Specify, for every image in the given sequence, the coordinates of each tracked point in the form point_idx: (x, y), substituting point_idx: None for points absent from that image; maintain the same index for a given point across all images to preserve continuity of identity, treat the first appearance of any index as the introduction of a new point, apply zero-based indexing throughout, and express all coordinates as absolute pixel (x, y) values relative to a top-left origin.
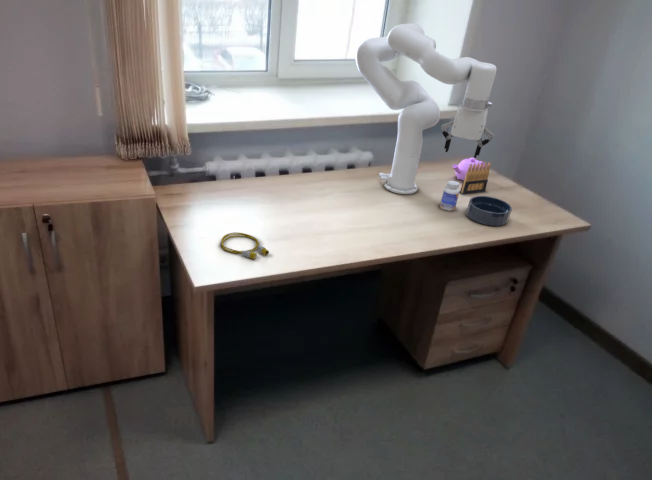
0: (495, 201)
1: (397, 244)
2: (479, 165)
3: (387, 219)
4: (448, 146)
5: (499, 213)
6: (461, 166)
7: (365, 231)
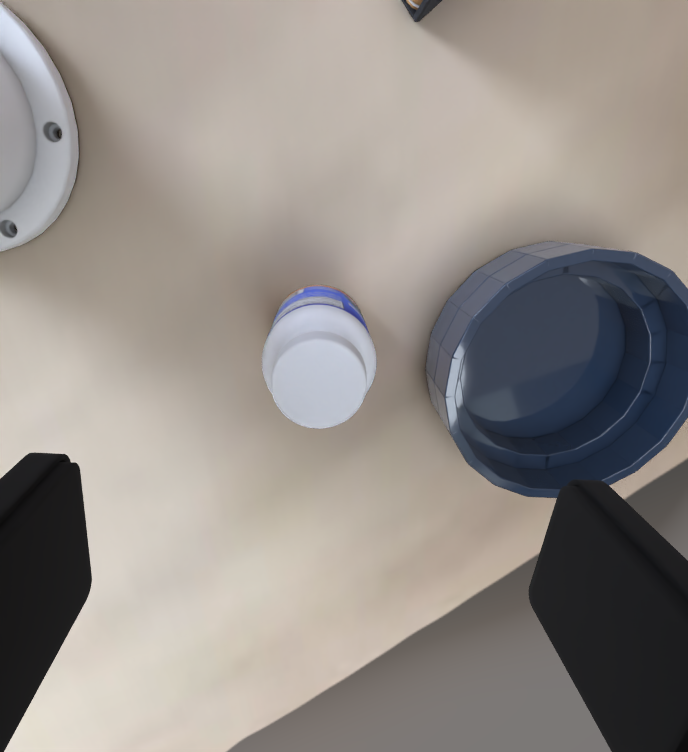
0: (626, 265)
1: (166, 732)
2: None
3: None
4: (30, 688)
5: None
6: None
7: None
